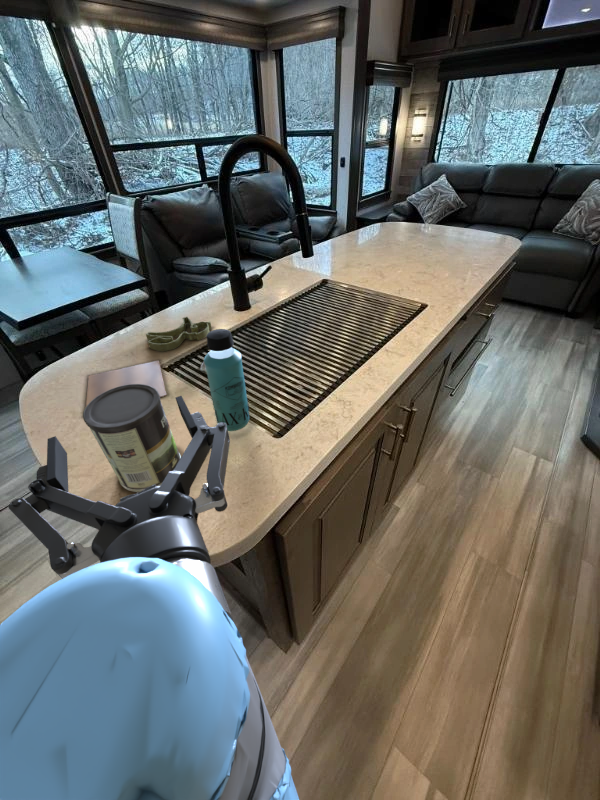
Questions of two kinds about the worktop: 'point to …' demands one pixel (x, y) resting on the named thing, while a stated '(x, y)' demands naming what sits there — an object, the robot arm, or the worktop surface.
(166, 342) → the cookie cutter
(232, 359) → the beverage bottle
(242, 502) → the worktop surface
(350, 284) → the worktop surface
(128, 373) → the cork mat
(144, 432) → the coffee can
